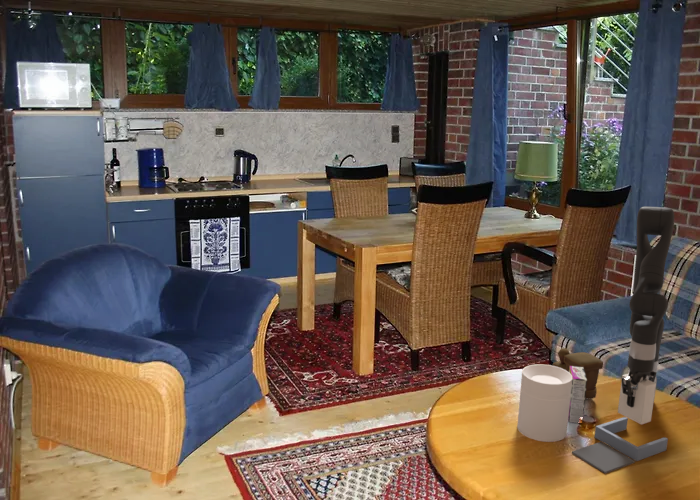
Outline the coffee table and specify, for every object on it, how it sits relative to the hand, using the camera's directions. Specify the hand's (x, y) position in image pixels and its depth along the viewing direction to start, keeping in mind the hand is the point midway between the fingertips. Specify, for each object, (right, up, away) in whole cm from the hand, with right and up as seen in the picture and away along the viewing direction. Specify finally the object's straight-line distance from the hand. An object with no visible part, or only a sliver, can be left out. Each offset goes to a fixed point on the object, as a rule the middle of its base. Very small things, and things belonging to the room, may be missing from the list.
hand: (635, 404), depth 218 cm
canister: (-27, -11, +11) cm, 31 cm away
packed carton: (0, -4, +1) cm, 4 cm away
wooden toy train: (-9, -5, +38) cm, 39 cm away
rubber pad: (-12, -15, -6) cm, 21 cm away
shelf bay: (0, -13, +3) cm, 14 cm away
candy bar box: (-13, -9, +21) cm, 26 cm away
